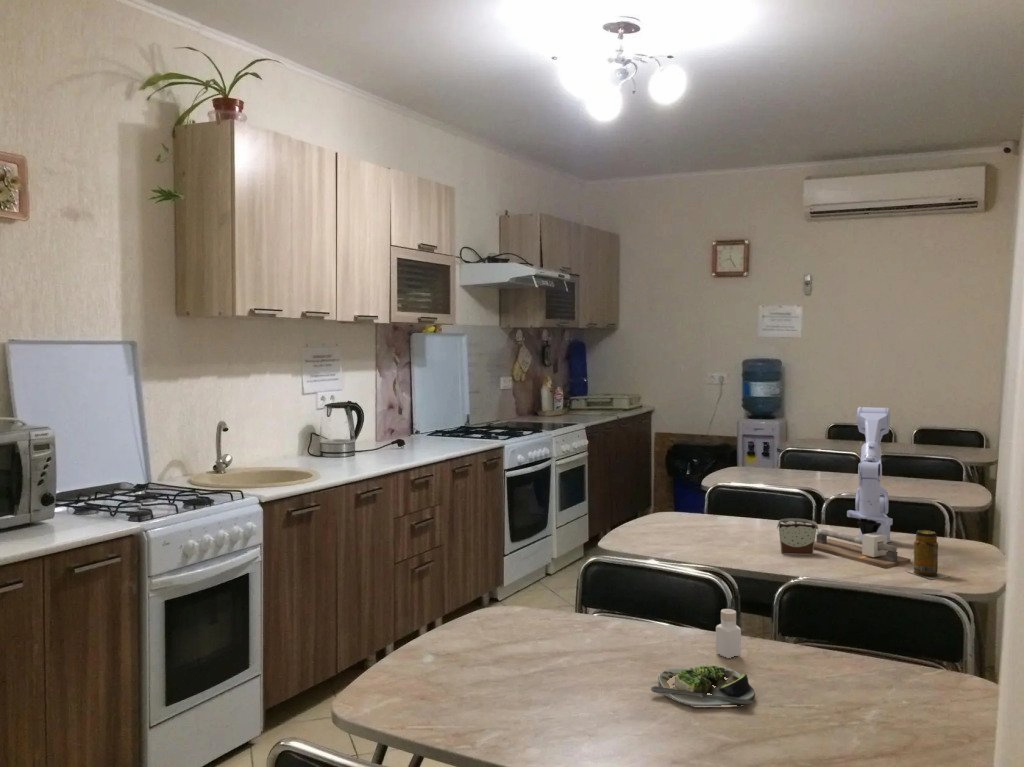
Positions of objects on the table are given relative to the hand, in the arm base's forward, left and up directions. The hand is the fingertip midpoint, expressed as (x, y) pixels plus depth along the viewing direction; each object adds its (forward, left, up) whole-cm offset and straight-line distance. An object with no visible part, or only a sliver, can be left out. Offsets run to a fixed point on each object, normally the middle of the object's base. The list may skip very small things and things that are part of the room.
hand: (868, 544), depth 252 cm
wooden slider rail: (+3, -3, -3) cm, 5 cm away
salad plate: (+111, +47, -4) cm, 120 cm away
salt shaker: (+95, +36, -4) cm, 101 cm away
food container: (+16, -15, -4) cm, 22 cm away
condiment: (+4, +22, -4) cm, 22 cm away
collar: (+3, +4, -2) cm, 5 cm away
